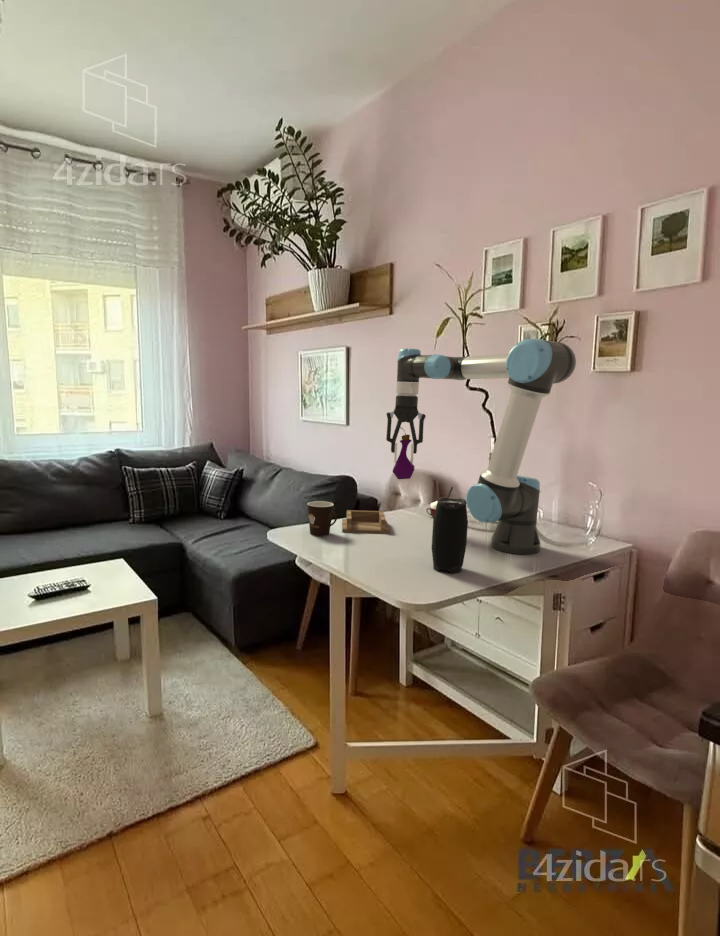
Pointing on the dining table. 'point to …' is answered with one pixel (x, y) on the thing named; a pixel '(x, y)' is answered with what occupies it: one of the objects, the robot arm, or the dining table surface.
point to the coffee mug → (320, 517)
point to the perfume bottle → (403, 460)
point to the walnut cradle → (365, 522)
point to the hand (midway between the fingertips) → (403, 462)
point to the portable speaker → (449, 534)
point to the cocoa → (434, 504)
